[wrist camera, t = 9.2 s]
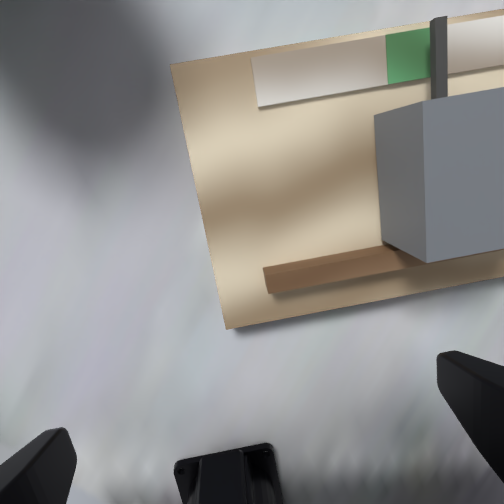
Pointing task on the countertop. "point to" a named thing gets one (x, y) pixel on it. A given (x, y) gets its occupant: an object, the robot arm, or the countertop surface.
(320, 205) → the bench
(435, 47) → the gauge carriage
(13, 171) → the countertop surface
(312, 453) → the countertop surface
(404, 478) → the countertop surface
